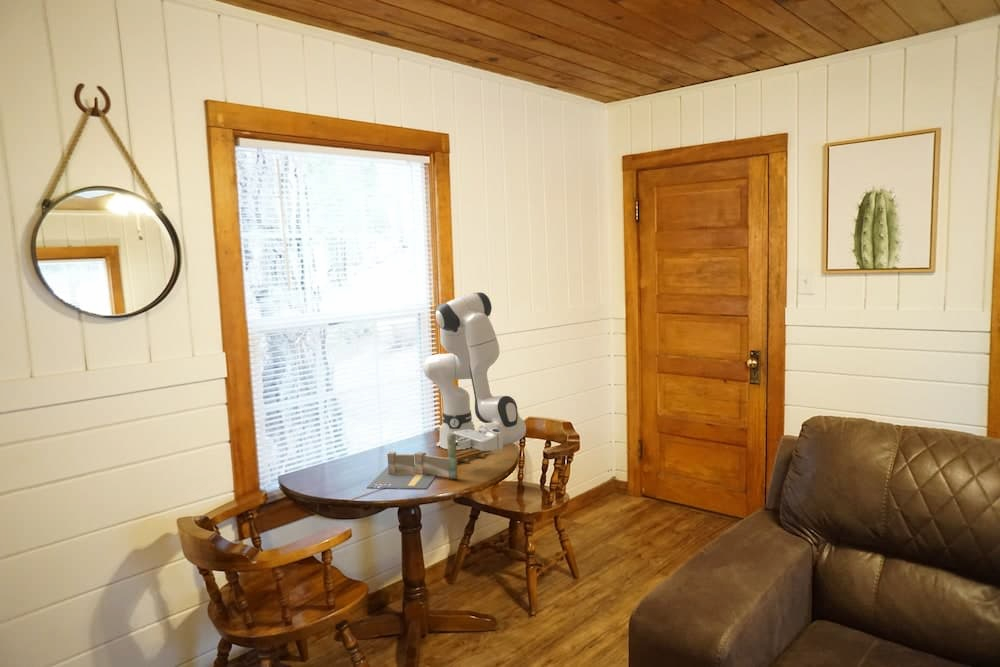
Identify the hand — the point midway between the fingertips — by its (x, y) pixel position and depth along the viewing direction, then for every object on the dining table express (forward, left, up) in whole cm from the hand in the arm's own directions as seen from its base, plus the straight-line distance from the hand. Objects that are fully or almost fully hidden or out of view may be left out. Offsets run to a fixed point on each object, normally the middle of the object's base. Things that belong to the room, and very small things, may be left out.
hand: (456, 443), depth 234 cm
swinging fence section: (-2, -8, -12) cm, 14 cm away
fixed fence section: (-4, -22, -12) cm, 25 cm away
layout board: (-1, -19, -12) cm, 23 cm away
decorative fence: (-22, -2, -12) cm, 26 cm away
